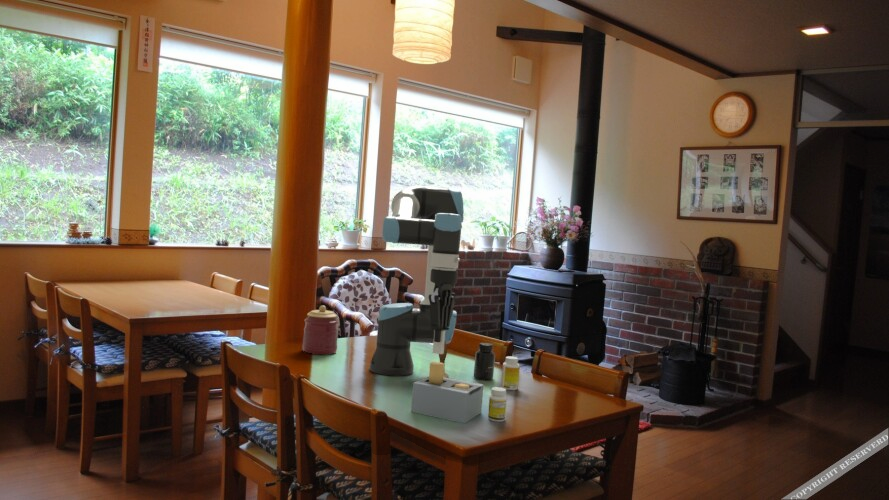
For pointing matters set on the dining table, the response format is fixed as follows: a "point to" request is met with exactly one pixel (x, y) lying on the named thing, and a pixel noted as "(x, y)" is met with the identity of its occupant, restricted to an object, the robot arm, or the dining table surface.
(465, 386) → the peg
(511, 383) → the supplement bottle
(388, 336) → the robot arm
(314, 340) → the canister
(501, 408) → the supplement bottle
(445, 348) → the hand bell
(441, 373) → the peg
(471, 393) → the socket block
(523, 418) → the dining table surface
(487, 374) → the supplement bottle
